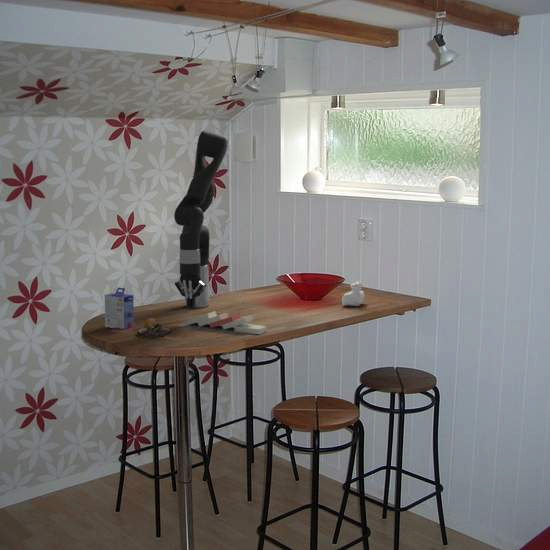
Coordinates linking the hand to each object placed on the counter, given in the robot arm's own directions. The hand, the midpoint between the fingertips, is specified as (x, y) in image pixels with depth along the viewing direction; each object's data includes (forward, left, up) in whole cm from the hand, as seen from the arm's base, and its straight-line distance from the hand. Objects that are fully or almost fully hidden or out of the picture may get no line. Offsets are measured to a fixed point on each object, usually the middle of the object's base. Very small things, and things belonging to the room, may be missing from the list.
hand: (190, 308), depth 279 cm
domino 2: (+5, 0, -5) cm, 7 cm away
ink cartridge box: (-21, -15, -7) cm, 27 cm away
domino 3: (+15, 0, -5) cm, 16 cm away
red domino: (+10, 0, -5) cm, 11 cm away
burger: (-4, -17, -7) cm, 19 cm away
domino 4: (+20, 0, -5) cm, 21 cm away
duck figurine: (+39, +62, -7) cm, 74 cm away
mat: (+12, 0, -6) cm, 13 cm away
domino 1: (0, 0, -5) cm, 5 cm away
